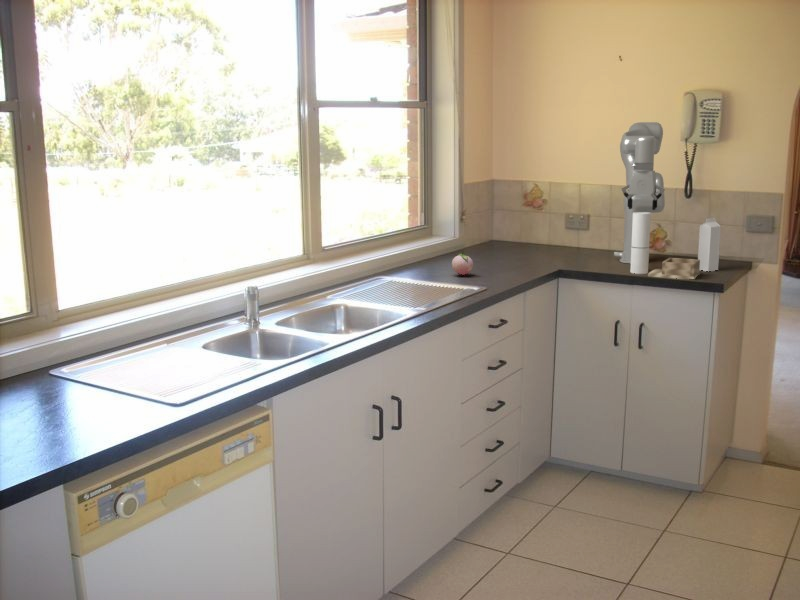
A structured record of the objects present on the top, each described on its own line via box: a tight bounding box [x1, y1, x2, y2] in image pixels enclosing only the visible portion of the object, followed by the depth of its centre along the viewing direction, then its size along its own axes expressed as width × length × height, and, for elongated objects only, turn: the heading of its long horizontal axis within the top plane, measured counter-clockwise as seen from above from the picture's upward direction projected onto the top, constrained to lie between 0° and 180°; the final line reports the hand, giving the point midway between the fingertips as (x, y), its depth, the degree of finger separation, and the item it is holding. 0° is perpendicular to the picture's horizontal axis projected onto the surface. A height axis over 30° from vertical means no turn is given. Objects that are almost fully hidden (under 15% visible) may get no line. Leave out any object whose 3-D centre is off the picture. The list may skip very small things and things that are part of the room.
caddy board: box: [647, 257, 701, 280], centre depth 351 cm, size 18×13×6 cm
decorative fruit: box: [451, 251, 474, 276], centre depth 356 cm, size 9×8×10 cm
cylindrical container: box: [629, 212, 652, 275], centre depth 357 cm, size 7×7×25 cm
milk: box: [697, 217, 722, 273], centre depth 360 cm, size 6×6×22 cm
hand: (642, 209), depth 353 cm, fingers open, 9 cm apart
